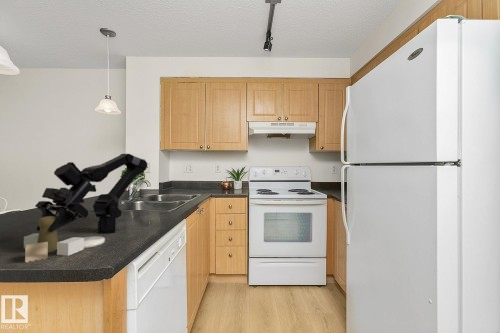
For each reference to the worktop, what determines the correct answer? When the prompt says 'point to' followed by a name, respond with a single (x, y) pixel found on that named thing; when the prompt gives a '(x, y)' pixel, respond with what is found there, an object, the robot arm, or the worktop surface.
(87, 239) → the cream plate
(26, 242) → the sage block
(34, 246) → the beech block
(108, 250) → the worktop surface
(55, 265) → the worktop surface
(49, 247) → the cork
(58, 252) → the grey block
